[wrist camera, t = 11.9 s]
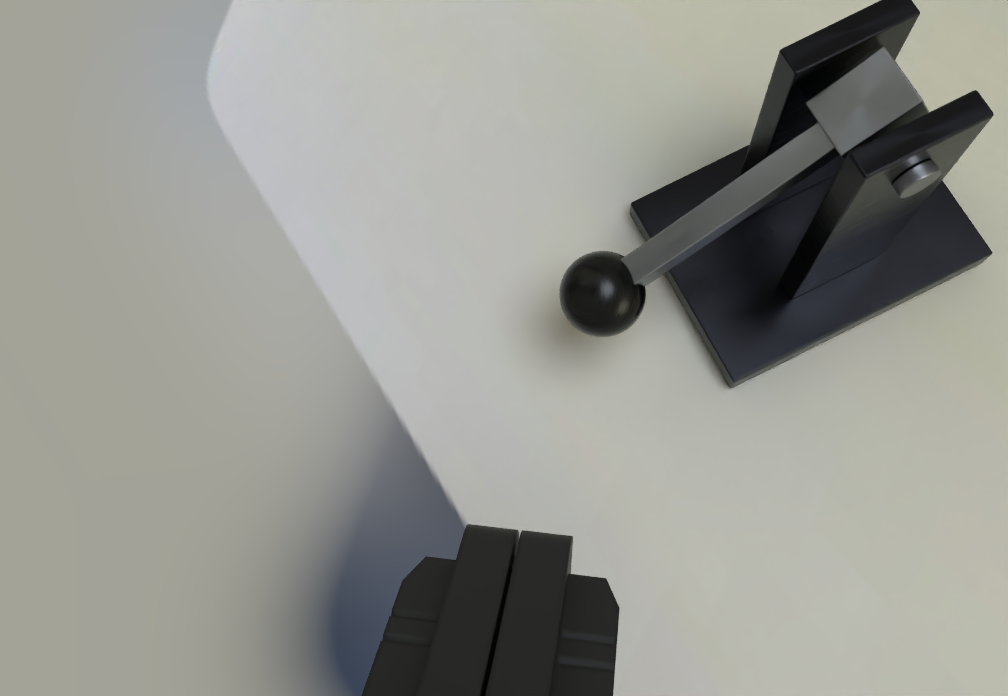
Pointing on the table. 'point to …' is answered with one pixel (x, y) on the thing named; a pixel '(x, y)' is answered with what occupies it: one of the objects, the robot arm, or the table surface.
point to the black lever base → (824, 213)
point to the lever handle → (742, 194)
